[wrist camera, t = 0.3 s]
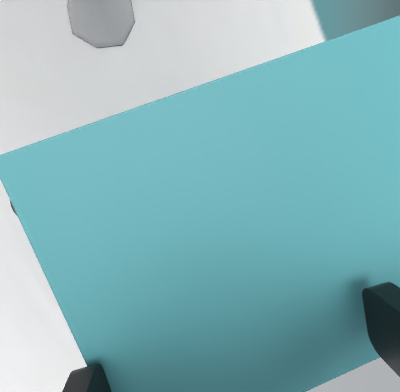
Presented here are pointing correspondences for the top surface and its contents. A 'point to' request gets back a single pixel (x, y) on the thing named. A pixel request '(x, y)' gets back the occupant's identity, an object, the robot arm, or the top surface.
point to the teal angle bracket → (227, 222)
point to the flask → (101, 21)
